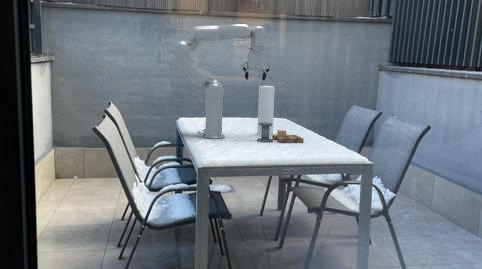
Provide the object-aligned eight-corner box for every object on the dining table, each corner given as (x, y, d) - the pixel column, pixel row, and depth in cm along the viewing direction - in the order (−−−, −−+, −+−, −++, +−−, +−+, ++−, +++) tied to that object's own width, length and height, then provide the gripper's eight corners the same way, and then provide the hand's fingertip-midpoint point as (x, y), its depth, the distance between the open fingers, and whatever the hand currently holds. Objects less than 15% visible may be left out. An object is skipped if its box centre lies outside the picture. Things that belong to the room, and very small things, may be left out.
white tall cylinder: (273, 136, 273) (275, 86, 269) (257, 136, 273) (259, 85, 269) (272, 134, 282) (274, 85, 278) (257, 133, 282) (258, 85, 278)
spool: (259, 142, 249) (259, 124, 248) (255, 139, 258) (255, 122, 257) (275, 142, 251) (275, 124, 250) (270, 139, 260) (271, 122, 258)
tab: (279, 141, 254) (279, 131, 253) (277, 140, 258) (277, 130, 257) (285, 141, 255) (286, 131, 254) (283, 140, 259) (284, 130, 258)
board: (279, 143, 249) (279, 138, 249) (271, 139, 263) (272, 134, 262) (303, 142, 252) (303, 138, 252) (295, 139, 266) (295, 134, 265)
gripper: (243, 47, 250) (241, 79, 252) (273, 49, 253) (271, 80, 256) (240, 48, 257) (238, 78, 259) (270, 50, 261) (268, 80, 263)
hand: (255, 79), depth 258 cm, fingers open, 9 cm apart
